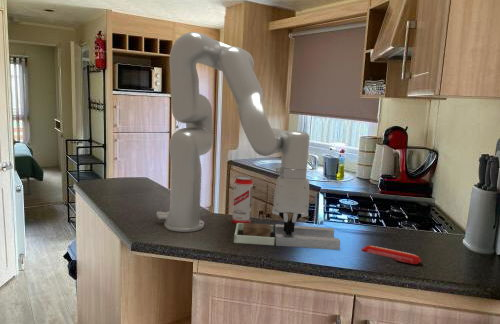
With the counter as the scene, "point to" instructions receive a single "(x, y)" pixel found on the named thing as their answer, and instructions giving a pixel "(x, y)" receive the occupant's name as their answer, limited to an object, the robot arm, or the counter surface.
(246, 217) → the beer can
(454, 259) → the counter surface
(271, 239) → the tray
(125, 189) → the counter surface
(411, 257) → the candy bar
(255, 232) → the walnut block
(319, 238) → the slot channel
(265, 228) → the walnut block
